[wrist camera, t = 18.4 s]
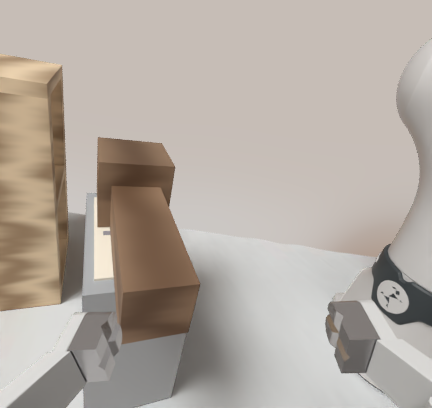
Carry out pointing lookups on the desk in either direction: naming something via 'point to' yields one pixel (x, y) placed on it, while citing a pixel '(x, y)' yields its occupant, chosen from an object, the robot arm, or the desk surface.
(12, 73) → the tall wooden pillar
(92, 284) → the plinth
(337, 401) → the desk surface
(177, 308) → the brown wooden bar
